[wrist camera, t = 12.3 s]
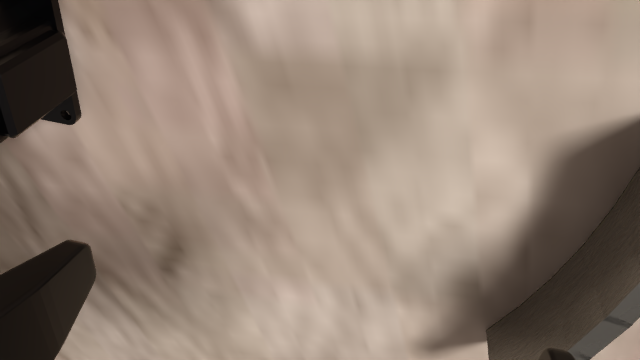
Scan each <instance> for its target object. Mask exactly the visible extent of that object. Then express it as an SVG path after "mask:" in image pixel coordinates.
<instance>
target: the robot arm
mask: <svg viewBox="0 0 640 360" xmlns="http://www.w3.org/2000/svg"><path fill="white" fill-rule="evenodd" d="M76 90H77V88H76V83H75V78H74V73H73V68H72V63H71V59H70V54H69V49H68V44H67V39H66V37H65V32H64V28H63V23H62V18H61V13H60V8H59V3H58V0H0V143H2V142H3V141H4V140H6V139H7V138H8V137H10V138H15V137H17V136H19V135H20V134H21V133H23V132H24V131H25V130H26V129H28V128H29V127H30V126H32V125H33V124H34V123H36V122H37V121H38V120H40V119H42V120H47V121H52V122H57V123H62V124H67V125H72V124H74V123H76V122H77V121H78V120H79V119H80V118H81V110H80V105H79V100H78V95H77V91H76ZM66 111H68V112H69V113H70V115H69V114H68V113H67V112H66ZM95 278H96V268H95V264H94V260H93V256H92V251H91V248H90V246H89V245H88V244H86V243H83V242H78V241H74V240H67V241H64V242H62V243H60V244H58V245H57V246H55V247H53V248H51V249H49V250H47V251H45V252H43V253H41V254H39V255H38V256H36V257H34V258H32V259H30V260H28V261H26V262H24V263H22V264H20V265H19V266H17V267H15V268H13V269H11V270H9V271H7V272H5V273H3V274H1V275H0V360H54V359H55V358H56V356H57V354H58V353H59V351H60V349H61V347H62V345H63V344H64V342H65V340H66V338H67V336H68V334H69V332H70V330H71V328H72V326H73V324H74V322H75V320H76V318H77V316H78V314H79V312H80V310H81V308H82V306H83V304H84V302H85V300H86V298H87V296H88V294H89V292H90V290H91V288H92V286H93V284H94V281H95ZM538 360H576V359H575V358H574V357H573V355H572V354H571V353H569V352H567V351H564V350H560V349H555V348H551V347H548V348H546V349H544V350H543V352H542V353H541V355H540V356H539V358H538Z"/></svg>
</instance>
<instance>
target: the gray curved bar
mask: <svg viewBox="0 0 640 360" xmlns="http://www.w3.org/2000/svg"><path fill="white" fill-rule="evenodd" d="M639 318H640V168H639V170H638V171H637V173H636V174H635V176H634V177H633V179H632V180H631V182H630V183H629V185H628V186H627V188H626V189H625V191H624V192H623V194H622V195H621V197H620V198H619V200H618V201H617V203H616V205H615V206H614V208H613V209H612V210H611V211H610V213H609V214H608V215H607V216H606V217H605V219H604V220H603V221H602V222H601V224H600V225H599V226H598V227H597V229H596V230H595V231H594V232H593V234H592V235H591V236H590V237H589V239H588V240H587V241H586V242H585V244H584V245H583V246H582V247H581V248H580V249H579V251H578V252H577V253H576V254H575V255H574V256H573V257H572V258H571V259H570V260H569V261H568V262H567V263H566V264H565V265H564V266H563V267H562V268H561V269H560V270H559V271H558V272H557V273H556V274H555V275H554V277H553V278H552V279H551V280H549V281H548V282H547V283H546V284H545V285H544V286H543V287H541V288H540V289H539V290H538V291H537V292H536V293H534V294H533V295H532V296H531V297H530V298H529V299H528V300H526V301H525V302H524V303H523V304H522V305H521V306H519V307H518V308H517V309H515V310H514V311H513V312H511V313H510V314H508V315H507V316H506V317H504V318H503V319H502V320H500V321H499V322H497V323H496V324H495V325H493V326H492V327H490V328H489V329H488V330H486V332H487V344H488V355H489V360H538V358H539V356H540V355H541V353H542V352H543V350H544V349H546V348H548V347H551V348H555V349H560V350H564V351H567V352H569V353H571V354H572V355H573V357H574V358H575V359H576V360H590V359H591V358H592V357H593V356H595V355H596V354H597V353H598V352H600V351H601V350H602V349H603V348H605V347H606V346H607V345H608V344H609V343H611V342H612V341H613V340H614V339H616V338H617V337H618V336H619V335H621V334H622V333H623V332H624V331H625V330H627V329H628V328H629V327H630V326H632V325H633V323H634V322H635V321H636V320H637V319H639Z"/></svg>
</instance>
